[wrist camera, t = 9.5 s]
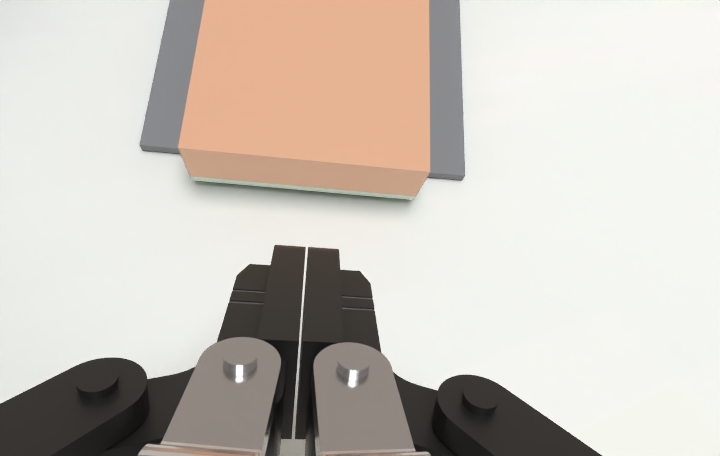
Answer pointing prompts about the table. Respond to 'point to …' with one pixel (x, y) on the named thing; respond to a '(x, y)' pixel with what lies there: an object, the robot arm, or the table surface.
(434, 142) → the slate mat
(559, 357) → the table surface
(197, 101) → the tile
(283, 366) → the robot arm
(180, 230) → the table surface
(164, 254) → the table surface
